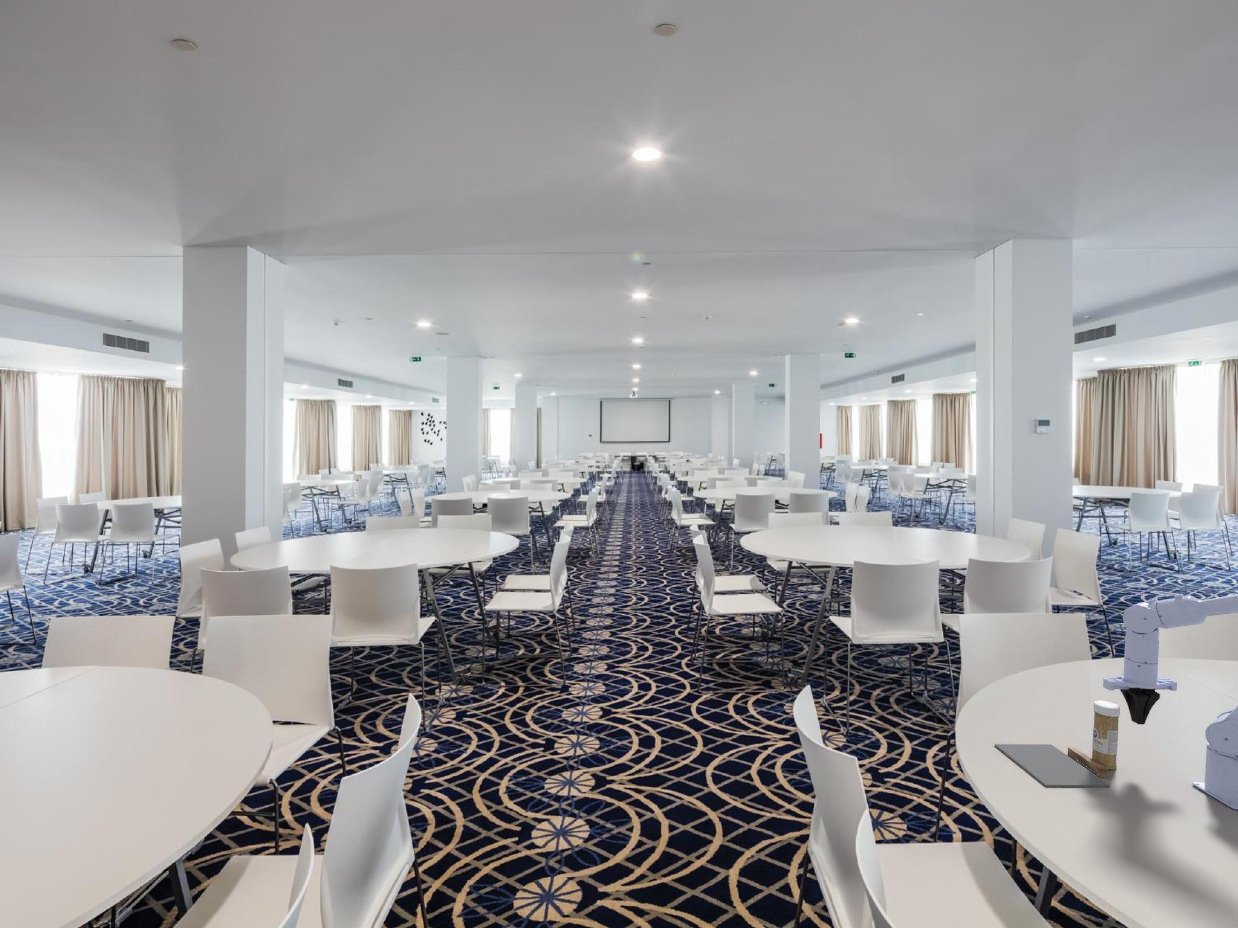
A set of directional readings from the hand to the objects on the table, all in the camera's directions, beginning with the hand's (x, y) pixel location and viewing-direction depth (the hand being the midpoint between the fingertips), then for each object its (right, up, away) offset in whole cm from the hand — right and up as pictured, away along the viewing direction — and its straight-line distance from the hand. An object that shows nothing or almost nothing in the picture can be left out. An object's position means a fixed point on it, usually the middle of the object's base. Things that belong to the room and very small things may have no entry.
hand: (1137, 722), depth 146 cm
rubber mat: (-19, -9, 0) cm, 21 cm away
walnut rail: (-11, -9, 0) cm, 14 cm away
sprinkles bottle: (-7, -10, 0) cm, 12 cm away
